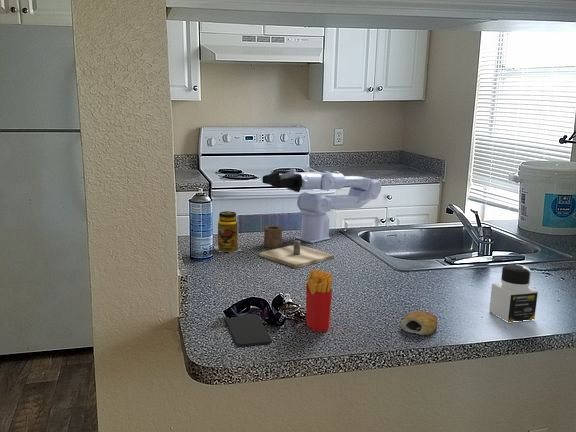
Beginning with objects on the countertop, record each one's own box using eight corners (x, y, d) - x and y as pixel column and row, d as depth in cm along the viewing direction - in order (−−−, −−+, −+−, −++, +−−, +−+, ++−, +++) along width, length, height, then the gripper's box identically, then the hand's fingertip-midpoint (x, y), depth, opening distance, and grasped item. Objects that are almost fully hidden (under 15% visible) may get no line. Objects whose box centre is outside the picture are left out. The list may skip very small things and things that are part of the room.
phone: (256, 313, 127) (273, 341, 113) (256, 317, 127) (273, 345, 113) (223, 316, 125) (236, 344, 111) (223, 320, 125) (236, 348, 111)
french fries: (301, 319, 125) (303, 267, 123) (318, 317, 127) (320, 265, 124) (317, 334, 118) (320, 279, 115) (335, 332, 119) (337, 277, 116)
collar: (273, 242, 188) (273, 225, 187) (285, 246, 184) (285, 228, 183) (260, 245, 185) (260, 227, 183) (272, 249, 181) (272, 230, 179)
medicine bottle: (508, 323, 126) (514, 272, 124) (488, 312, 133) (493, 262, 130) (535, 321, 128) (541, 270, 126) (514, 309, 135) (520, 260, 132)
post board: (296, 247, 184) (297, 232, 183) (333, 258, 172) (334, 242, 171) (259, 255, 173) (259, 239, 172) (296, 268, 162) (296, 251, 160)
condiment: (221, 254, 174) (221, 215, 171) (211, 247, 181) (211, 210, 179) (243, 251, 177) (243, 213, 175) (232, 244, 185) (232, 208, 182)
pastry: (415, 317, 129) (417, 301, 128) (444, 325, 125) (446, 309, 124) (397, 331, 121) (399, 314, 120) (428, 339, 117) (429, 322, 117)
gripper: (287, 166, 190) (257, 165, 181) (319, 171, 180) (288, 170, 171) (285, 187, 191) (255, 187, 182) (317, 193, 181) (286, 194, 172)
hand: (271, 181), depth 176 cm, fingers open, 7 cm apart
